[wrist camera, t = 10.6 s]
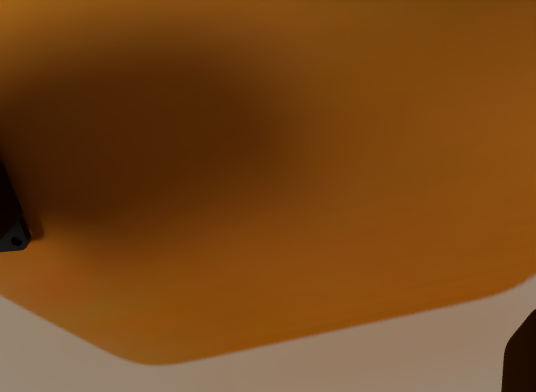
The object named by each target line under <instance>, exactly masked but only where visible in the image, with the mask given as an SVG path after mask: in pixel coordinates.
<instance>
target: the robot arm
mask: <svg viewBox="0 0 536 392" xmlns="http://www.w3.org/2000/svg"><path fill="white" fill-rule="evenodd" d="M22 214H23V211H22V209H21V206H20V204H19V201H18V199H17V196H16V194H15V191H14V189H13V187H12V184H11V182H10V179H9V177H8V174H7V172H6V169H5V167H4V165H3V164H2V163H1V162H0V252H7V251H19V250H24V249H25V248H26V247H27V246H28V245H29V243H30V242H31V235H30V233H29V230H28V228H27V225H26V223H25V220H24V218H23V215H22ZM15 237H18V238H20V239H21V240H22V241H19V240H17V239H16V238H15ZM501 392H536V309H535V310H534V311H533V312H532V313H531V314H530V315H529V316H528V317H527V319H526V320H525V321H524V322H523V323H522V325H521V326H520V327H519V328H518V330H517V331H516V332H515V333H514V334H513V336H512V337H511V338H510V340H509V341H508V343H507V346H506V348H505V353H504V362H503V376H502V390H501Z"/></svg>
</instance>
